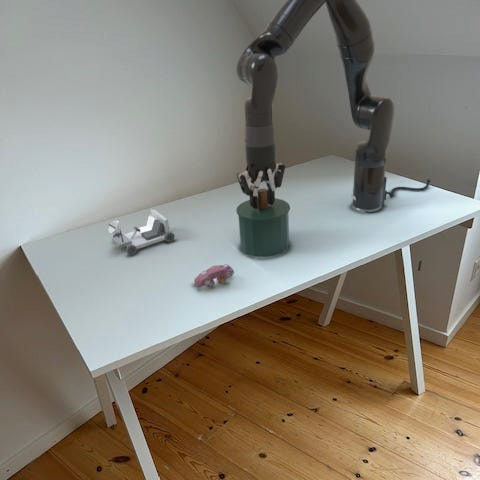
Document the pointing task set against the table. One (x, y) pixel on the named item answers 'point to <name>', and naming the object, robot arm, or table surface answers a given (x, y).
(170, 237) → the toy car
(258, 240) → the pot
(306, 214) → the table surface
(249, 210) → the lid
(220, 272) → the video game controller
